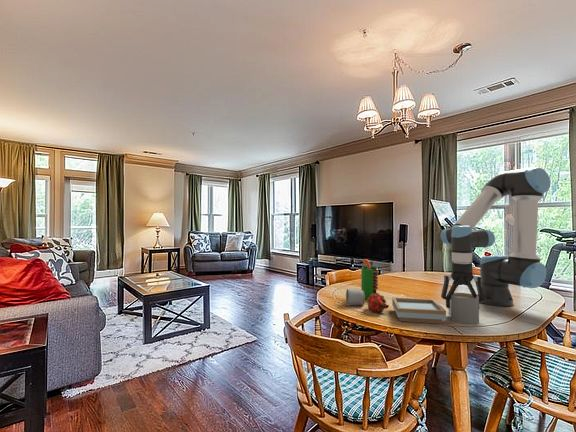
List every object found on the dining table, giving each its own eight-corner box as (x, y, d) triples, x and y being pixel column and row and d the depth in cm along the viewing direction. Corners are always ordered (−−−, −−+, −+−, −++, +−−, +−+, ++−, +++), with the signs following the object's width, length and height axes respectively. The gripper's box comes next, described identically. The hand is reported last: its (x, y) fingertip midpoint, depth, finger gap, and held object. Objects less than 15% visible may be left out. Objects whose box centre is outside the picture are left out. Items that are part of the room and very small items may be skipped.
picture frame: (434, 311, 140) (434, 299, 140) (446, 325, 123) (446, 310, 123) (392, 309, 144) (392, 297, 144) (397, 322, 126) (397, 308, 126)
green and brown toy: (379, 300, 159) (379, 261, 160) (361, 299, 161) (361, 260, 161) (377, 295, 169) (377, 258, 169) (360, 294, 171) (360, 258, 171)
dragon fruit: (373, 310, 148) (382, 322, 136) (359, 300, 147) (367, 311, 135) (384, 296, 148) (394, 306, 136) (370, 286, 146) (379, 296, 135)
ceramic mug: (365, 306, 148) (365, 290, 148) (348, 306, 148) (348, 290, 148) (360, 301, 159) (360, 286, 159) (344, 301, 159) (344, 286, 159)
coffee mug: (484, 323, 124) (484, 298, 125) (462, 324, 123) (462, 299, 123) (461, 313, 138) (461, 290, 138) (441, 314, 136) (440, 291, 136)
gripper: (486, 261, 132) (487, 315, 132) (432, 260, 136) (432, 312, 136) (494, 264, 125) (495, 321, 125) (436, 263, 129) (437, 318, 129)
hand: (462, 316), depth 130 cm, fingers open, 9 cm apart
